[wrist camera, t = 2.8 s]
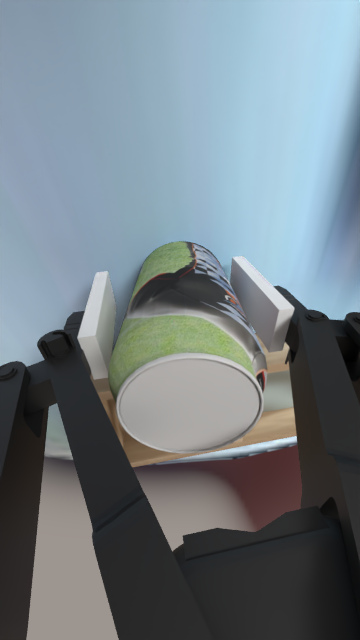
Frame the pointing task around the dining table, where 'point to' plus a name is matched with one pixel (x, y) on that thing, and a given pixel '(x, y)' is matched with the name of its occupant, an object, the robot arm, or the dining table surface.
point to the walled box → (269, 427)
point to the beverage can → (186, 356)
